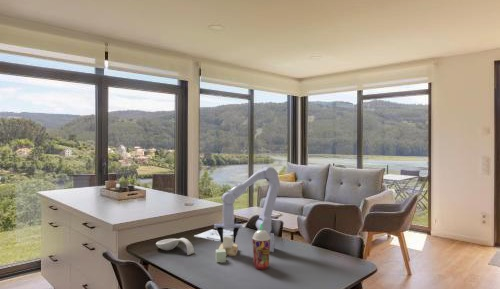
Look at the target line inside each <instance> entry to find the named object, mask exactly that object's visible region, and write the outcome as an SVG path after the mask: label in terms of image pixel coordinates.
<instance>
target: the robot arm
mask: <svg viewBox="0 0 500 289" xmlns="http://www.w3.org/2000/svg"><path fill="white" fill-rule="evenodd" d="M278 174H279V173H278V171H277V170H276V169H275V168H274V167H270V166H268V165H264V166H262V167H261V168H259V169H258V170H256V171H255V172H254V173H253V174H252V175H251V176H250V177H248V178H247V179H246V180H245V181H244V182H243V183H241V182H239V183H235V184H234V187H232V188H230V189H228V190H227V191H226V192H224V193H223V194H222V195H221V201H222V223H214V224H213V229H217V231H218V233H219V235H220V238H221V241H220V243H221V244H223V230H224V229H233V234H234V236H233V244H236V239H237V235H238V232H239V229H241V230H242V229H243V224H242V223H235V222H234V219H235V218H234V217H235V215H234V214H235V213H234V212H235V211H234V209H235V208H234V203H235V201H236V200H237V199H239V198H240V197H242V195H244V194H245V193H246V191H247V188H249V187H250V186H252V185H253V184H255V183H257V181H260V180H265V181H266V182H267V184H268V185H269V186H268V190H267V193H266V197H265V200H264V203H263V207H262V210H261V214H260V215H259V216H258V218H257V220H256V221H255V228H256V229H257V230H256V231H258V230H261V224H262V230H265V231H267V232H268V234H269V236H270V238H271V239H270V253H274V252H275V246H276V245H275V233H274V232H272V228H273V227H272V216H273V214H272V213H273V212H274V211H273V210H274V207H275V203H276V200H277V196H278V193H279V189H280V185H281V184H280V179H279V175H278Z"/></svg>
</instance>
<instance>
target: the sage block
mask: <svg viewBox="0 0 500 289" xmlns="http://www.w3.org/2000/svg"><path fill="white" fill-rule="evenodd" d="M215 262H220V263H226V262H227V255H226V251H225V249H219V248H218V249H215Z"/></svg>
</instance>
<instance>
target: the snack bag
mask: <svg viewBox="0 0 500 289" xmlns="http://www.w3.org/2000/svg"><path fill="white" fill-rule="evenodd" d="M224 236H233V237H234V234H233V231H232V230H228V229H223V238H224ZM193 237H194V238H199V239H205V240H209V241H213V240H214V241H213V242H218V241H219V242H220V243H221V238H220V235H219V233H218V231H217V230H215V229H214V228H213V229H209V230H206V231H203V232H201V233H198V234H194V235H193Z"/></svg>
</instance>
